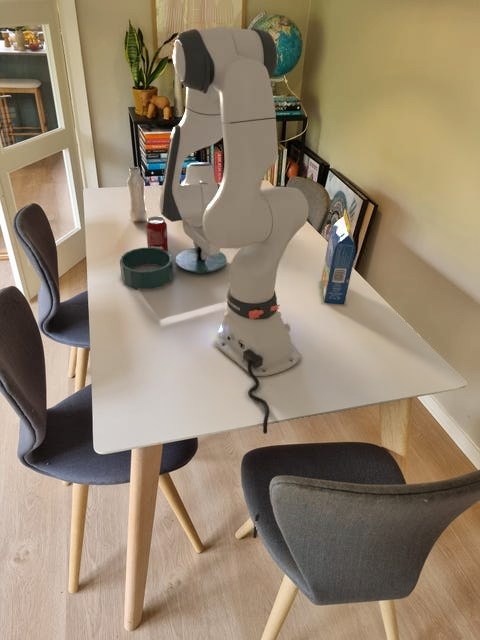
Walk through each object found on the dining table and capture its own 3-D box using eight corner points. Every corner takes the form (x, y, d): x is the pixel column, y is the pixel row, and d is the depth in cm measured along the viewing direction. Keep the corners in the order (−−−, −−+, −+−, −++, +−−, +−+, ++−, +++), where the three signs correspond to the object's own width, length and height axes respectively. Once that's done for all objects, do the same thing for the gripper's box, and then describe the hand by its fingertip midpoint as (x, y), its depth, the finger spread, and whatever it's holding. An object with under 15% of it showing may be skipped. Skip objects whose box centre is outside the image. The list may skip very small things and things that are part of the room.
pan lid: (235, 267, 144) (236, 253, 141) (188, 279, 137) (187, 264, 134) (212, 247, 156) (212, 233, 153) (168, 256, 149) (167, 242, 146)
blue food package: (340, 284, 142) (355, 209, 127) (344, 305, 132) (362, 226, 118) (320, 282, 142) (333, 207, 128) (323, 303, 133) (338, 225, 118)
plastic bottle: (129, 217, 176) (123, 166, 164) (146, 216, 177) (142, 165, 166) (131, 224, 171) (125, 171, 159) (149, 222, 173) (144, 170, 161)
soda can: (164, 258, 150) (162, 225, 143) (145, 255, 151) (142, 222, 144) (170, 249, 156) (169, 217, 149) (152, 246, 157) (149, 214, 149)
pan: (180, 283, 138) (180, 265, 134) (131, 295, 131) (129, 276, 128) (161, 261, 149) (160, 243, 145) (115, 271, 142) (113, 253, 138)
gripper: (225, 226, 131) (224, 268, 139) (196, 203, 146) (196, 242, 154) (206, 230, 129) (206, 272, 137) (178, 206, 143) (179, 245, 151)
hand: (201, 256), depth 145 cm, fingers closed on pan lid, 2 cm apart
